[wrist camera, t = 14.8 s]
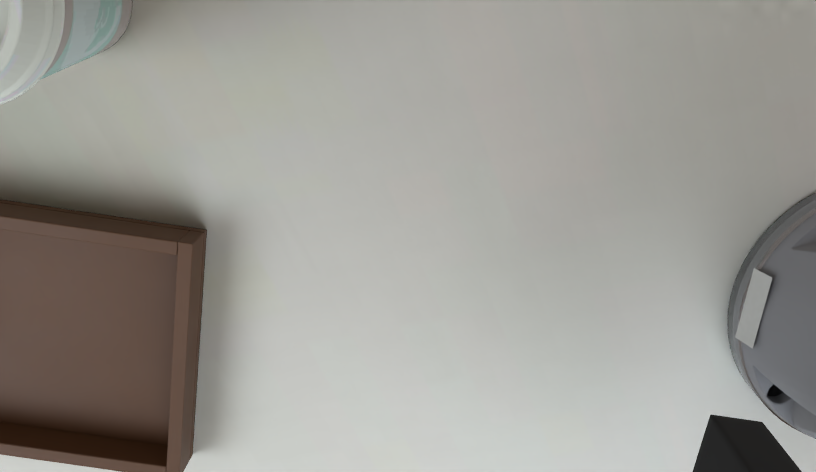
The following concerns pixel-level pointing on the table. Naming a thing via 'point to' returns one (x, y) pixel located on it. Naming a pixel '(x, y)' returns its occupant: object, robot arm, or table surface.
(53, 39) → the coffee cup
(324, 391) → the table surface
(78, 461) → the tray
